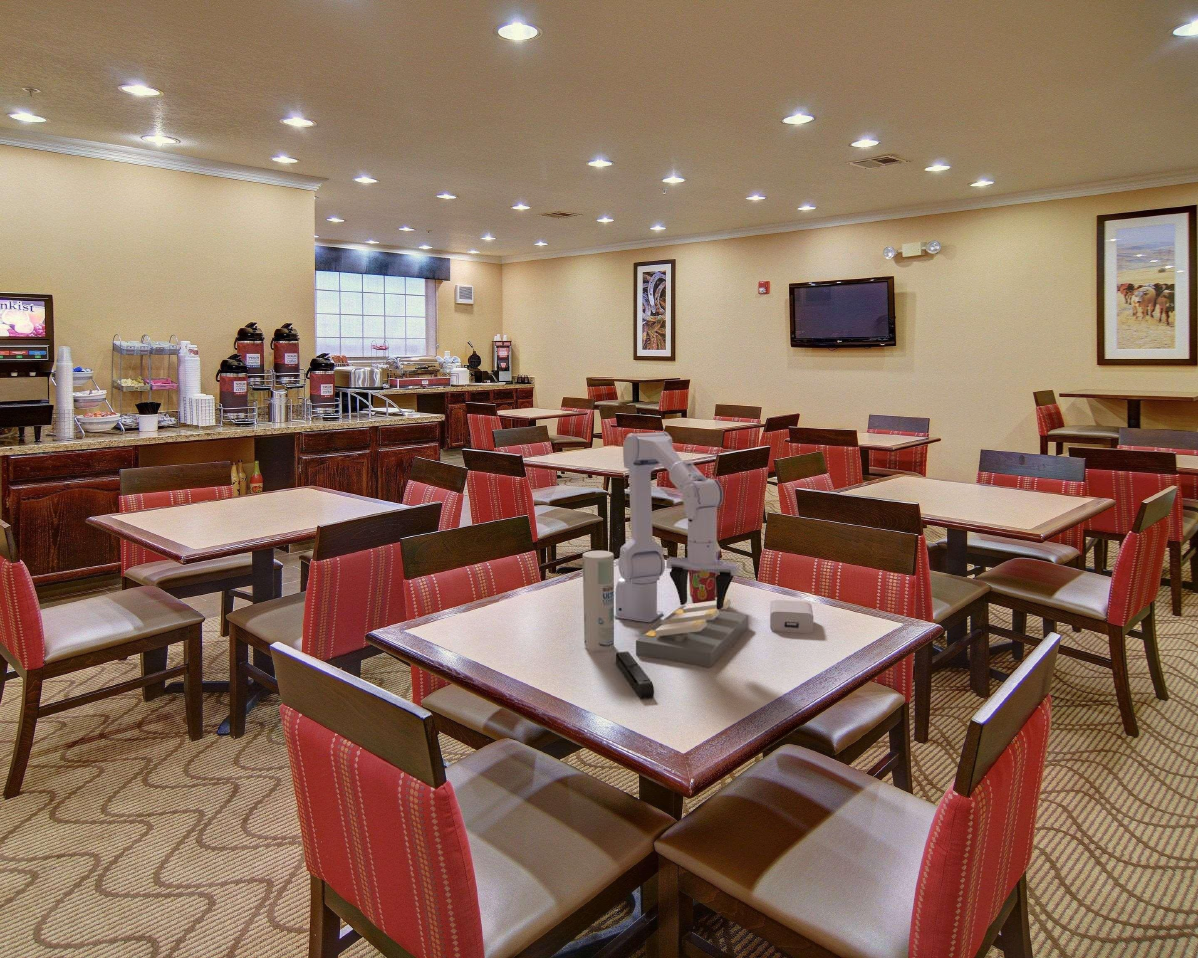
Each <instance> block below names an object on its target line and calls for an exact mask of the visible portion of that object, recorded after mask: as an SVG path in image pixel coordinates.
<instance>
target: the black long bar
mask: <svg viewBox="0 0 1198 958" xmlns="http://www.w3.org/2000/svg"><path fill="white" fill-rule="evenodd" d="M615 665H616V667H617V668H618V670H619V671H620V673H621V674H622V675H623V677H624V679H625V680H626V681H627V683H628V684H629V685H630V687H631V688H632V689H633V691H634V692H635V694H636V695H637V697H638V698H639V699H640V700H641V699H643V700H644V699H650V698H654V697H655V688H654V683H653V682H652V680H651V678H650V677H649V676H648V675H647V673H646V672H645V671H644V670H643V668H642V667H641V666H640V664H639V663H638V662H637V661H636V660H635V659H634V657H633V656H632V655H631V653H630V652H629V651H628V650H627V651H618V652H615Z"/></svg>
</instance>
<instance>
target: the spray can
mask: <svg viewBox="0 0 1198 958" xmlns="http://www.w3.org/2000/svg"><path fill="white" fill-rule="evenodd" d="M614 557H615V554H614V553H613V551H612V552H611V551H608V550H590V551H585V552H584V553H582V590H583V591H582V592H583V633H584V634H583V635H584V636H583V637H584V638H583V639H584V643H583V644H584V648H585V647H586V648H587V650H588V649H589V650H588V651H591V650H593V651H592V652H605V651H606V652H607V651H609V650H612V649H613V648H614V647H615V646H614V645H615V617H614V615H615V602H614V601H615V570H614V569H615V558H614ZM586 648H585V649H586Z"/></svg>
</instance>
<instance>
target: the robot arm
mask: <svg viewBox="0 0 1198 958" xmlns="http://www.w3.org/2000/svg"><path fill="white" fill-rule="evenodd" d="M673 443H674V441H673V438H672V436H671V435H670V434H669V433H668V432H667V431H661V432H645V433H644V432H642V433H641V432H640V433H632V432H630V433H628V434H627V435H626V436H625V439H624V440H623V443H622V457H623V458H622V459H623V468H625V469H627V470H628V477H629V478H628V480H629V484H628V485H629V508H630V509H629V511H630V512H629V513H630V539H629V540H628V541H627V542H625V543H624V544H623V545H621V547H620V550H619V558H618V565H617V566H618V572H619V574H620V578H619V579H618V581H617V582H616V586H615V591H614V596H615V613H614V618H616V619H617V618H618V619H623V620H630V621H637V622H642V623H649V624H650V623H653V622H654V621H655V620H656V619H658V618H659V617H660V616H662V615H663V614H664V611H662V610H658V581H660V579H661V576H663V575H664V572H665V568H666V569H670V571H669V577H670V579H671V580H672V582H673V583H674V586H675V588H676V591H677V594H678V599H679V603H680V605H681V606H685V605H686V604H687V602H688V581H689V570H696V571H705V572H714V573H719V575H717V576H716V577H715V580H716V587H717V597H716V600H717V604H716V606H717V610H719V611H722V610H723V609H722V608H723V604H724V599H726V595H727V591H728V589H729V587H730V585H731V582H732V581H733V579H734V577H735V576H737V575H738V574H739V564H738V563H733V562H728V561H723V560H720V561H719V560H716V542H718V540H717V539H718V537H717V534H718V533H717V531H718V530H717V529H718V527H717V526H718V525H717V524H718V520H717V519H718V518H717V517H718V508H720V506H721V505H722V504H723V500H724V491H723V487H722V485H721V483H720V482H719V480H718V479H716V478H709V477H708V478H707V477H706V476H705V475H704V474H703V472H701V471H700V470H699V469H698V468H697V467H696V466H695V465H694V463H693V461H691V460H689V459H688V460H687V459H686V460H685V459H682V458H681V457H680V456H679V454H678V453H677V451H676V450H675V448H674V444H673ZM660 465H661V466H663V467H664V469H666V470H667V471H668V473H669V474H668V477H669V481H670V482H671V483H672V484H673V485H674V487H675V488H676V489H677V490H678V491H679V492H680V493H681V497H682V498H681V499H682V502H683V506H684V515H685V517H686V518H687V547H688V549H687V557H672V556H670V557H668V558H666V561H665V558H664V554H663V553H664V552H663V547H662V545H661V544H659V543H658V542H657V541H655V540H654V539H653V538H654V537H653V509H652V508H653V507H652V483H651V482H652V479H651V477H652V476H651V474H652V472H653V470H654V469H655V468H657V467H658V466H660ZM665 562H666V563H665Z"/></svg>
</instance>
